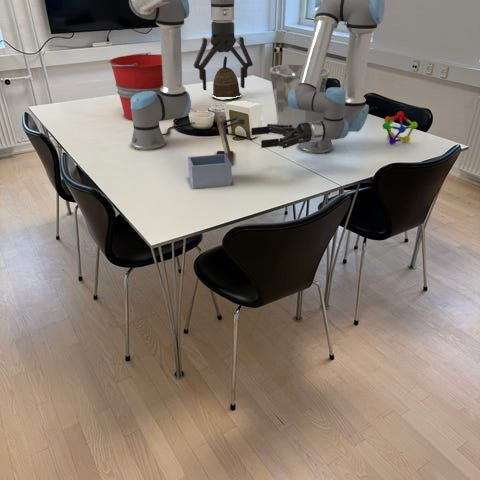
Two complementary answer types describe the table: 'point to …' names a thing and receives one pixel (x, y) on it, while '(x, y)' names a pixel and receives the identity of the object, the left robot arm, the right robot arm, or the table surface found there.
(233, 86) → the bell
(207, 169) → the chest
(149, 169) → the table surface
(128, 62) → the bucket
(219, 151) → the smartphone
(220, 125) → the lid
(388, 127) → the educational toy
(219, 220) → the table surface
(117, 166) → the table surface
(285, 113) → the bucket
